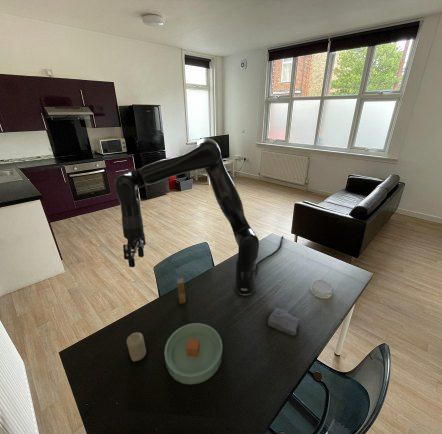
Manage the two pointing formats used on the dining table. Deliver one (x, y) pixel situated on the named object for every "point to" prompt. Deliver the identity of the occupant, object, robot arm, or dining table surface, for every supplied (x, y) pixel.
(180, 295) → the stirrer
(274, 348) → the dining table surface
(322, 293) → the coaster
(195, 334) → the bowl
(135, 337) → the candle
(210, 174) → the robot arm
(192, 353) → the block
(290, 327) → the stone block
